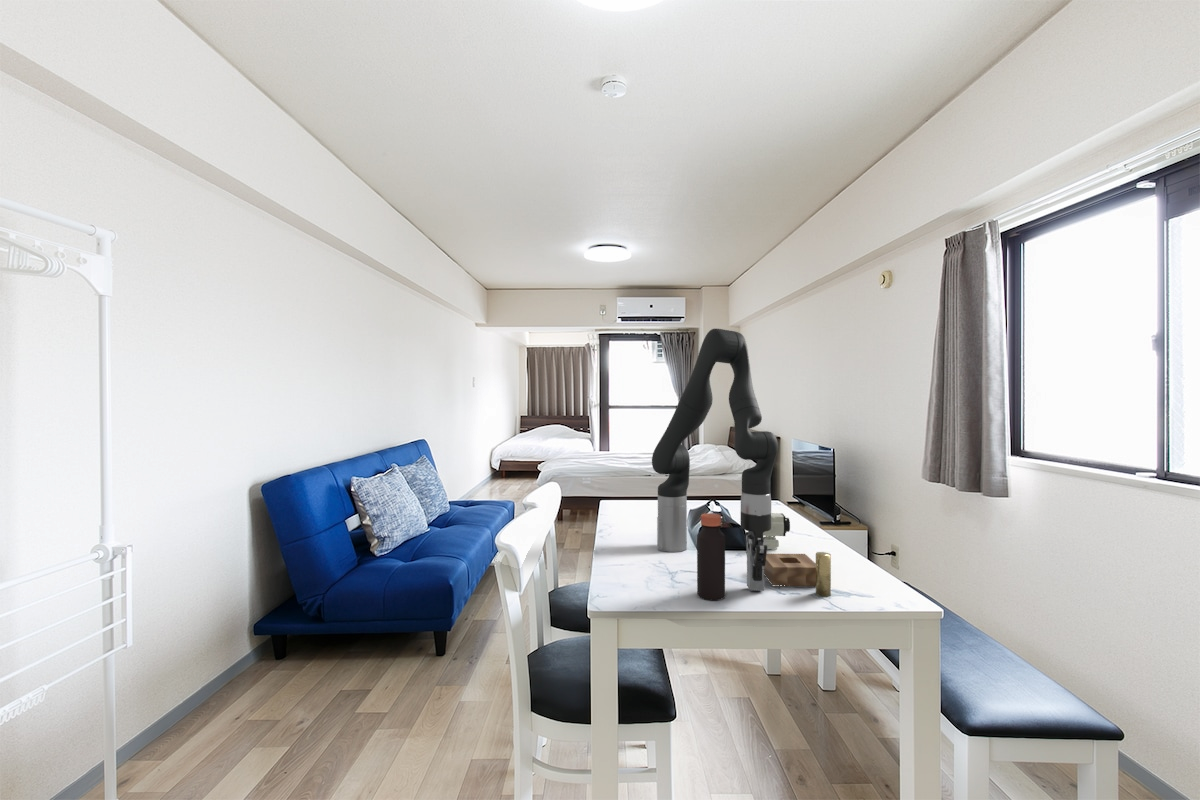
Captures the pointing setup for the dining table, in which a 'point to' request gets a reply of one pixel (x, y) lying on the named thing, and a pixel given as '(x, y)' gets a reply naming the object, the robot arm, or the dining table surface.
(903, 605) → the dining table surface
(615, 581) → the dining table surface
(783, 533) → the pneumatic valve
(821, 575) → the cylinder
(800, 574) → the socket block
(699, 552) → the bottle
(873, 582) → the dining table surface
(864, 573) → the dining table surface
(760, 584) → the square bit
